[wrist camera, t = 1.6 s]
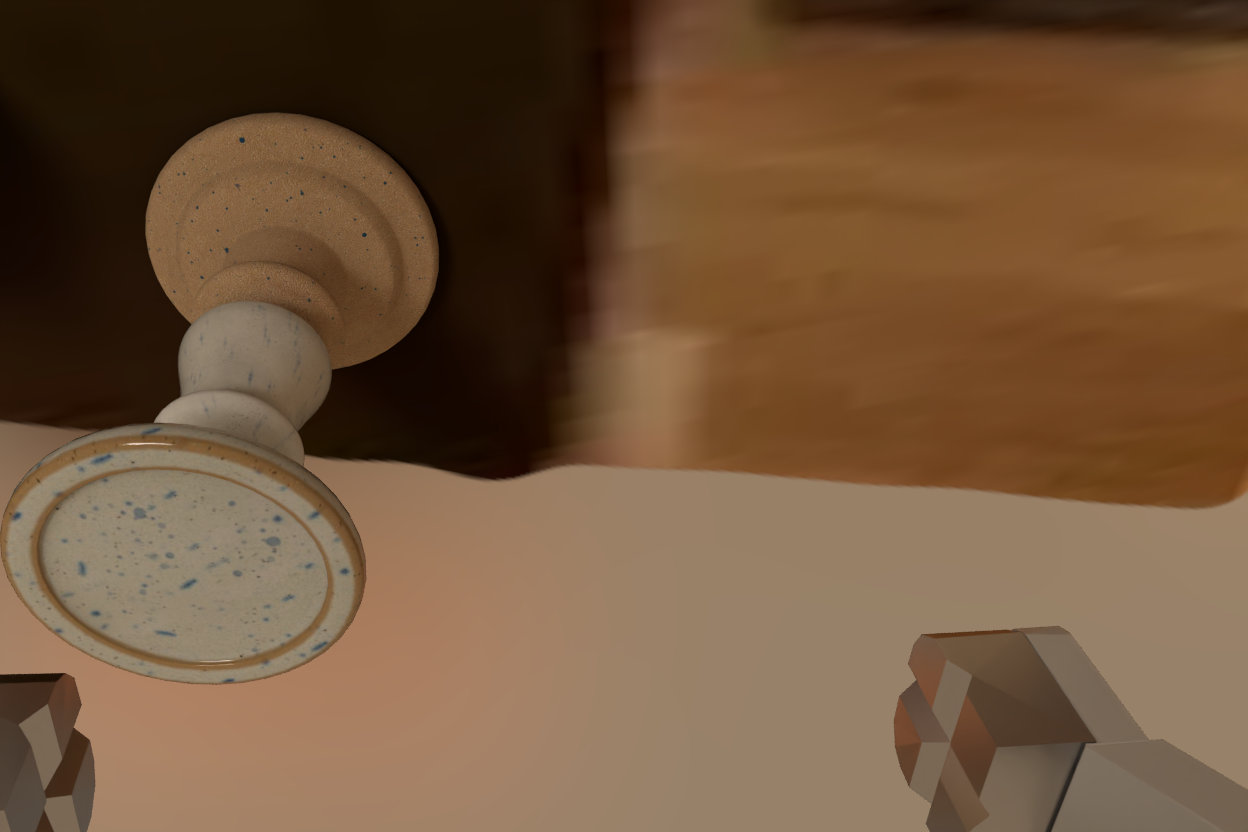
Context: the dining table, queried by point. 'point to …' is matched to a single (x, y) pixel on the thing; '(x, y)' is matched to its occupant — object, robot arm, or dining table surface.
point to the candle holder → (232, 414)
